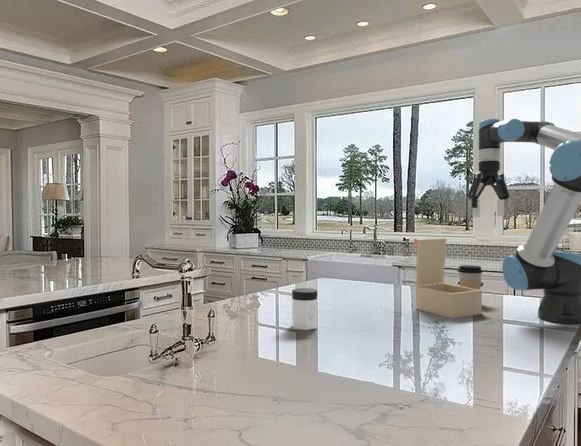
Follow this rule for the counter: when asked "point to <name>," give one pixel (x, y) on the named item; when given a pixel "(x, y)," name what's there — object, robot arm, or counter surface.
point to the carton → (449, 300)
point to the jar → (304, 309)
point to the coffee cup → (470, 276)
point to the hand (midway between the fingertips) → (488, 216)
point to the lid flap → (430, 260)
